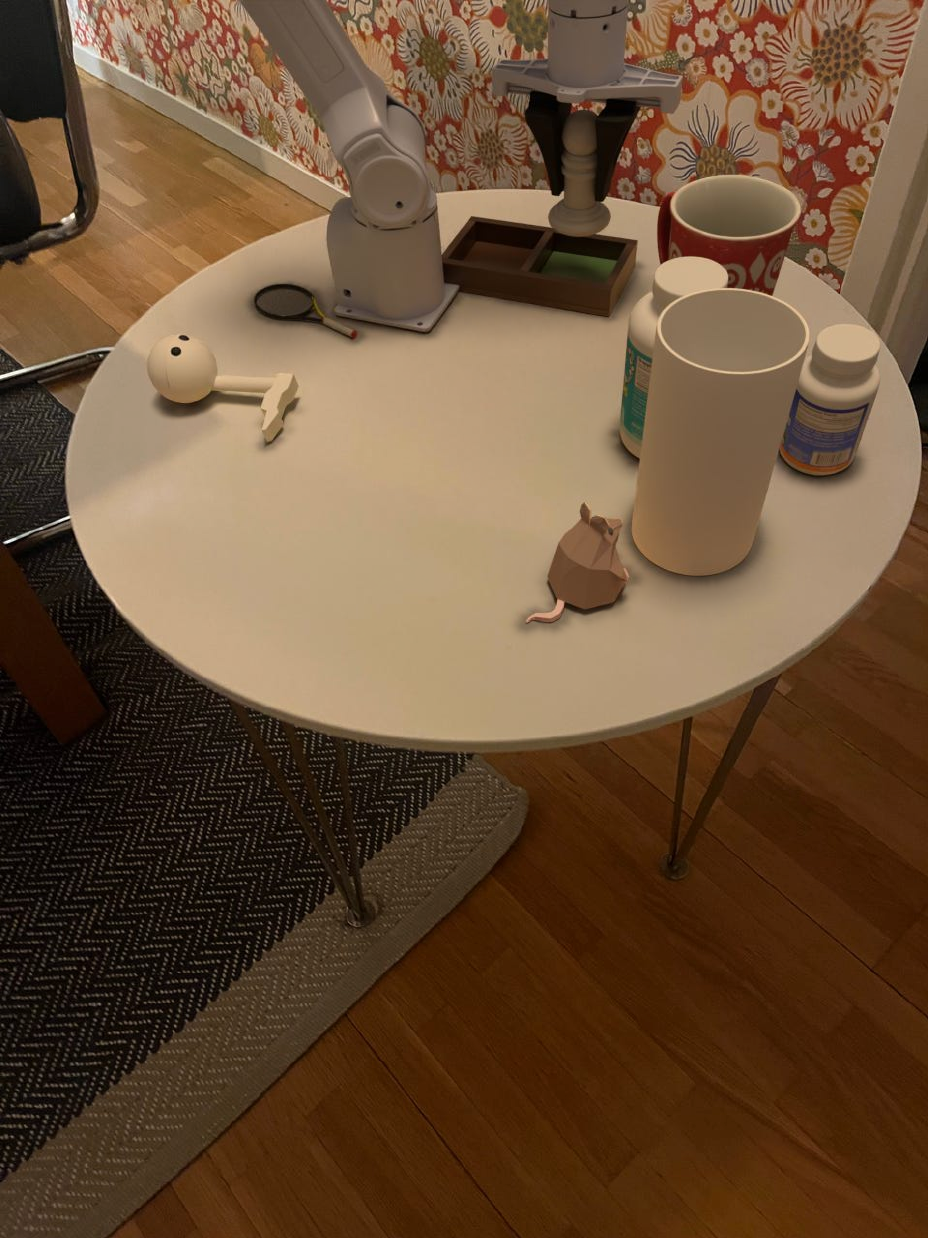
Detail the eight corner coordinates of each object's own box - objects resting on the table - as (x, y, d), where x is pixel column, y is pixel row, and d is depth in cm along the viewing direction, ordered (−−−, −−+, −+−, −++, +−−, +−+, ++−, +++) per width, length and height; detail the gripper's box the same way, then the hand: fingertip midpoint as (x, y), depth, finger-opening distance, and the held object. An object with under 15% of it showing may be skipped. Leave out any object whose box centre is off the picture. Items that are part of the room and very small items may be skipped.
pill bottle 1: (647, 396, 70) (667, 233, 60) (734, 427, 67) (771, 262, 57) (599, 449, 67) (612, 286, 56) (688, 484, 64) (719, 319, 53)
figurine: (149, 317, 72) (287, 321, 69) (177, 367, 76) (307, 373, 74) (112, 391, 68) (257, 398, 65) (144, 439, 72) (280, 447, 70)
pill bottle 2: (798, 418, 67) (826, 306, 60) (867, 443, 65) (906, 330, 57) (764, 460, 65) (789, 349, 57) (835, 488, 63) (870, 376, 55)
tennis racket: (240, 298, 82) (280, 274, 84) (242, 305, 83) (282, 281, 85) (332, 344, 76) (373, 317, 78) (334, 351, 77) (374, 324, 79)
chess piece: (557, 243, 74) (562, 130, 67) (540, 212, 77) (543, 102, 70) (618, 233, 75) (629, 120, 68) (599, 203, 78) (607, 92, 71)
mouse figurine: (500, 599, 58) (497, 528, 53) (591, 542, 61) (596, 469, 56) (552, 648, 56) (554, 578, 50) (644, 585, 58) (655, 513, 53)
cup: (725, 593, 57) (779, 391, 45) (611, 548, 61) (631, 347, 48) (770, 514, 62) (831, 309, 49) (661, 476, 65) (691, 274, 52)
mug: (785, 382, 70) (829, 217, 60) (684, 413, 69) (712, 249, 58) (702, 302, 78) (729, 143, 68) (610, 329, 76) (623, 170, 66)
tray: (608, 316, 78) (610, 289, 76) (438, 287, 82) (435, 261, 80) (635, 266, 82) (637, 239, 80) (472, 241, 87) (471, 215, 85)
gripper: (473, 16, 63) (482, 204, 74) (674, 32, 59) (652, 228, 70) (508, -17, 67) (511, 166, 78) (698, -5, 63) (674, 186, 74)
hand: (580, 193), depth 74 cm, fingers closed on chess piece, 3 cm apart
